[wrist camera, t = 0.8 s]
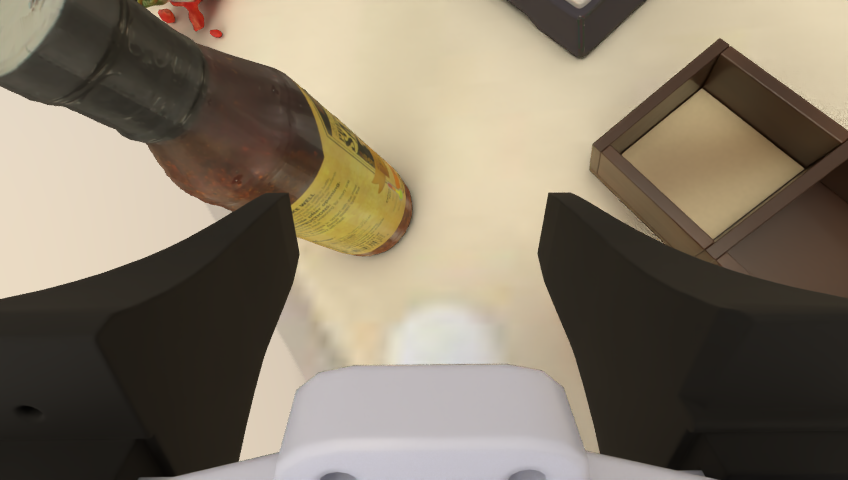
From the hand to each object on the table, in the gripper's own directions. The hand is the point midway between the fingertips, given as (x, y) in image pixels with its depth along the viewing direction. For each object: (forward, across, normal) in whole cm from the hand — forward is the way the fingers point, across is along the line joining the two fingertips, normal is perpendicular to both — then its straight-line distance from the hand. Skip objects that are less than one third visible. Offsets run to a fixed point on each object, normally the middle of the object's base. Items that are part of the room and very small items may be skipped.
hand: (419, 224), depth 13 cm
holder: (+8, -17, +5) cm, 19 cm away
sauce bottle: (+15, +3, +8) cm, 17 cm away
